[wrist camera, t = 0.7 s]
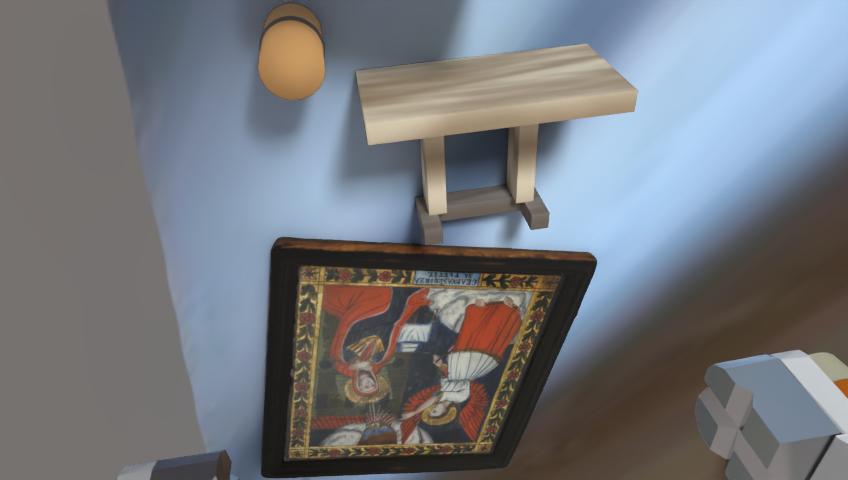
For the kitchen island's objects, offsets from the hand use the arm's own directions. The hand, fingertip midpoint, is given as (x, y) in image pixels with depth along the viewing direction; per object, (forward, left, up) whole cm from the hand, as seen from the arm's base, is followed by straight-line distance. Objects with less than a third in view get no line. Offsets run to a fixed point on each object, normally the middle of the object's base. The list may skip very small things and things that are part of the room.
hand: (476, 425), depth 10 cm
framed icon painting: (+43, +2, -38) cm, 58 cm away
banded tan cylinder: (+5, -4, -38) cm, 38 cm away
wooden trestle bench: (+15, +9, -38) cm, 41 cm away
